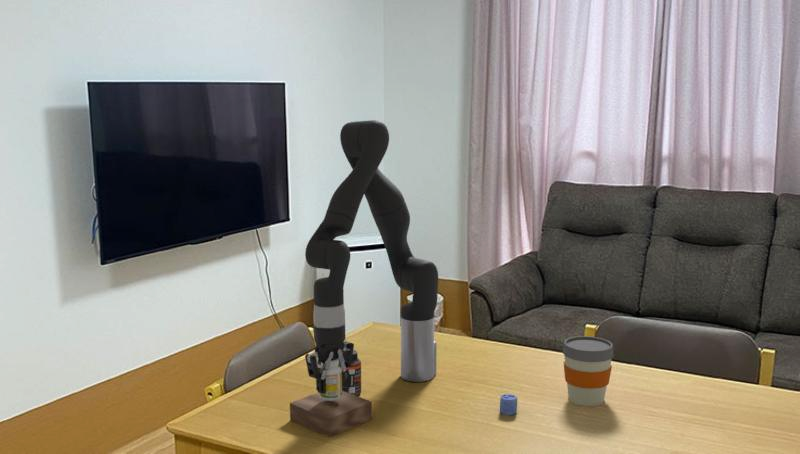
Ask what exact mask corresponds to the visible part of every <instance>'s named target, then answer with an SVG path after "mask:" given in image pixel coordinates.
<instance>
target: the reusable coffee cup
mask: <svg viewBox="0 0 800 454" xmlns="http://www.w3.org/2000/svg"><path fill="white" fill-rule="evenodd" d="M562 354H563V356H564V361H563V370H564V371H563V372H564V380H565V382H566V387H567V397H568V400H569V401H570V402H571V403H573V404H575V405H579V406H583V407H584V406H585V407H596V406H599V405H602V404H604V402H605V397H606V392H607V387H608V385H609V383H610V378H611V375H612V374H611V372H612V369H613V367H612V364H611V363H612V359H613V358H614V345H613V343H612V342H611V341H610V340H607V339H604V338H602V337H597V336H590V335H589V336H587V335H586V336H583V335H581V336H579V335H578V336H573V337H569V338H566V339H565V340H564V342H563V349H562Z"/></svg>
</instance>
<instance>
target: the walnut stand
mask: <svg viewBox="0 0 800 454" xmlns="http://www.w3.org/2000/svg"><path fill="white" fill-rule="evenodd" d="M370 419H371V420H373V401H372V400H368V399H366V398H363V397H360V396H359V395H356V396H355V395H353V394H350V393H347V392H345V391H342V397H341V398H340V399H338V400H334V401H327V400H323V399H322V398H321V397H320V393H319V392H318V391H317V392H316V393H313V394H310V395H308V396H304V397H302V398H299V399H297V400H294V401H292V402H289V421H291V422H293V423H295V424H297V425H300V426H301V427H304V428H306V429H308V430H311V431H314V432H316V433H318V434H321V435H323V436H325V437H328V438H331V437H333V436H336V435H338V434H341V433H342V432H345V431H347V429H348V430H350V429H352V428H355V427H356V425H357V426H359V425H361V423H362V424H364V423H366V422H369V421H370ZM368 420H369V421H368ZM363 422H364V423H363ZM354 426H355V427H354ZM349 428H350V429H349Z"/></svg>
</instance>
